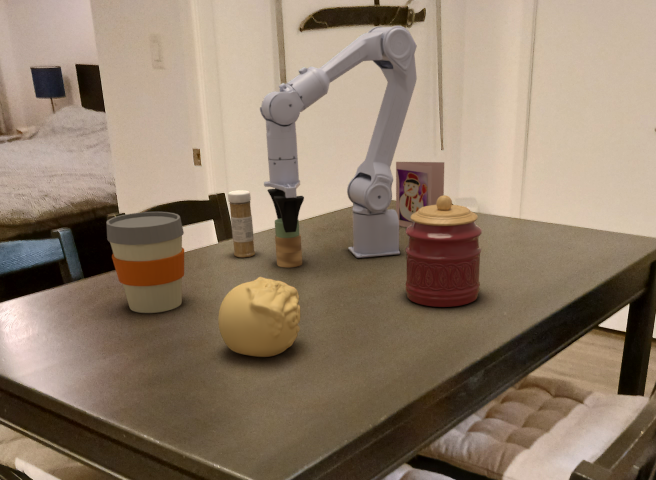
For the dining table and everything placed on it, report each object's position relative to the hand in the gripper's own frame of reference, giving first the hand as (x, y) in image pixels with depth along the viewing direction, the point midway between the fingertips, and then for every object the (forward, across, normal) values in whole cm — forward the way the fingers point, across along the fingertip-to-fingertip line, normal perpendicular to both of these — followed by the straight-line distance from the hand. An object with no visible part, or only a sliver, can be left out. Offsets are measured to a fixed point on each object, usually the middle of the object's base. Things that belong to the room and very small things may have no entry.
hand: (287, 227), depth 153 cm
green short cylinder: (+1, 0, 0) cm, 1 cm away
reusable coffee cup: (+8, +18, -27) cm, 33 cm away
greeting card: (+8, -22, +36) cm, 43 cm away
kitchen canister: (+8, +30, +22) cm, 38 cm away
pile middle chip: (+4, 0, 0) cm, 4 cm away
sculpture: (+8, +45, -12) cm, 47 cm away
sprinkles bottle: (+8, -10, -8) cm, 15 cm away
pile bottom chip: (+7, 0, 0) cm, 7 cm away
